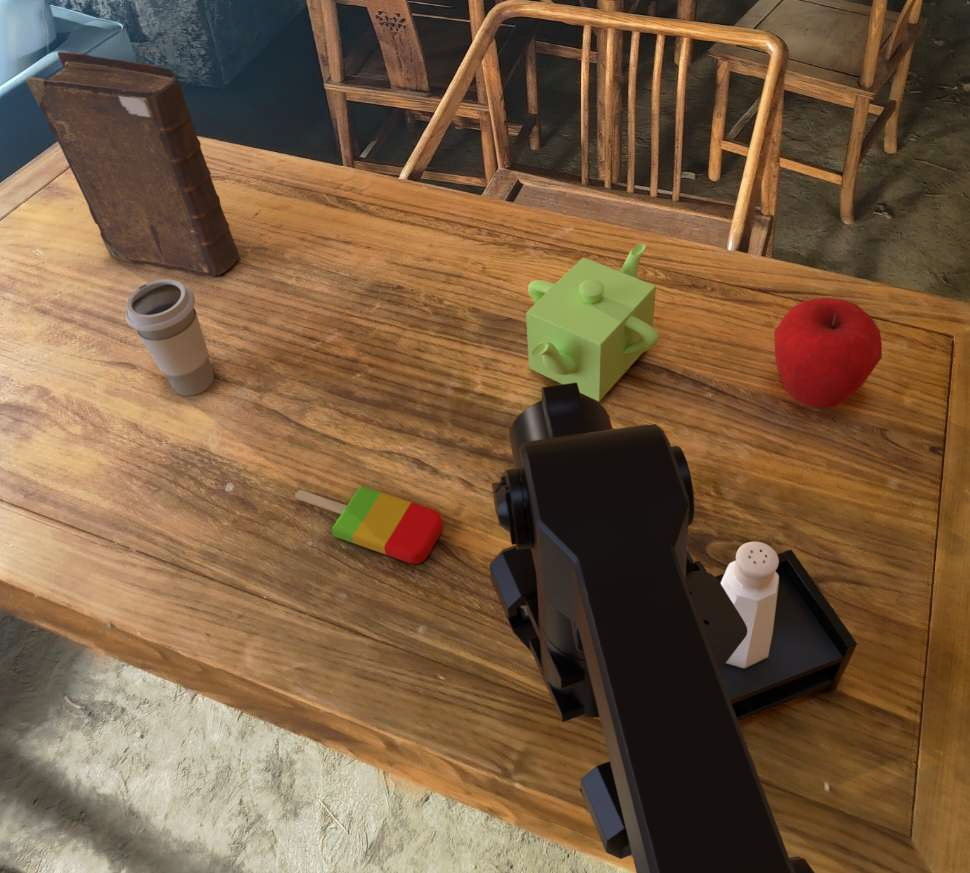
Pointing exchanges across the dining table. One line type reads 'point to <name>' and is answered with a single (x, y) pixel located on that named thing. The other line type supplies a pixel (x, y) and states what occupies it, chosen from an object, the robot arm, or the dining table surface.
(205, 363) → the cup
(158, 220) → the book
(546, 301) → the teapot
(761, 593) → the salt shaker
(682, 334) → the dining table surface
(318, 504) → the popsicle
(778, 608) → the black open box
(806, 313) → the apple
